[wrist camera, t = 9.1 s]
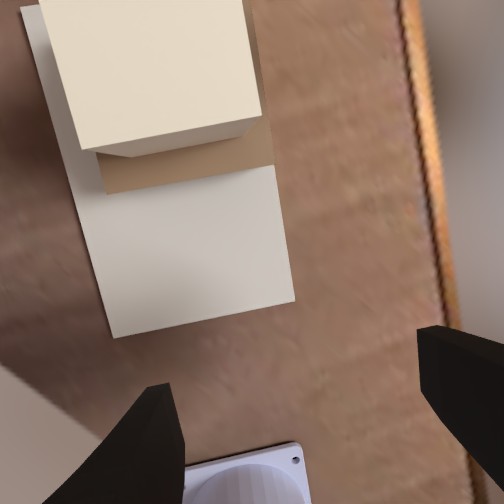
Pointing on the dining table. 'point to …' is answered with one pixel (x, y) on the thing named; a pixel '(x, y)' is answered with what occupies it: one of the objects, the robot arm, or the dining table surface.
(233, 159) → the brown block
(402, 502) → the dining table surface
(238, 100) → the cream block
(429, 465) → the dining table surface
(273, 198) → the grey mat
